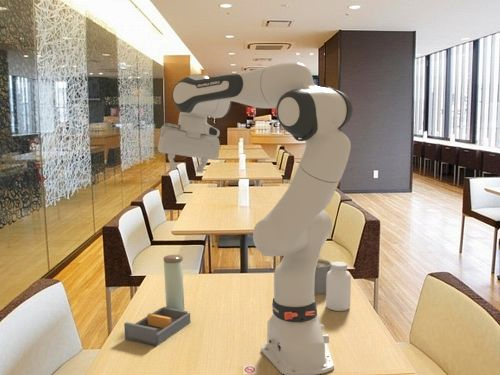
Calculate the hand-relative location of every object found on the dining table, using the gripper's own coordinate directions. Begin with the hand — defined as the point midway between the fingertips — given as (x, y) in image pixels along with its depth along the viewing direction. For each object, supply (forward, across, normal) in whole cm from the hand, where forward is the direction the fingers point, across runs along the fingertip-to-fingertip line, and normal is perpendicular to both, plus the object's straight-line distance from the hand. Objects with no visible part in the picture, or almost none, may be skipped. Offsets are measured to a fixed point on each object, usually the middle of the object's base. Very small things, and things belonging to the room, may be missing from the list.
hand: (186, 171), depth 162 cm
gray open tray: (+49, -5, -5) cm, 50 cm away
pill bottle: (+39, +50, -24) cm, 68 cm away
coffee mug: (+37, +56, -9) cm, 68 cm away
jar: (+46, +6, +7) cm, 47 cm away
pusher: (+48, -5, -5) cm, 48 cm away
